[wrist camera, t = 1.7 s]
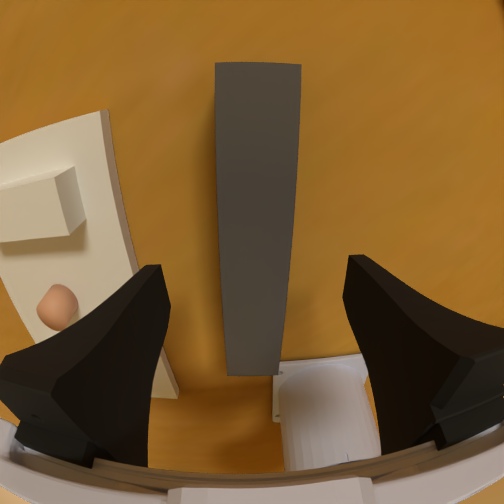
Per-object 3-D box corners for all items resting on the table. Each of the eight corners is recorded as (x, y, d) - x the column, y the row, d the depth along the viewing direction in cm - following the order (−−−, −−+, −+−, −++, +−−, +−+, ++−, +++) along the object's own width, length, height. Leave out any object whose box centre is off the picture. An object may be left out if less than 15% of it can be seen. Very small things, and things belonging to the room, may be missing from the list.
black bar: (273, 329, 20) (278, 375, 17) (229, 329, 20) (227, 376, 17) (286, 72, 12) (301, 64, 9) (223, 71, 12) (214, 62, 9)
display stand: (179, 389, 24) (174, 418, 21) (67, 377, 24) (57, 400, 21) (108, 109, 13) (79, 115, 10) (-28, 156, 13) (-56, 170, 10)
